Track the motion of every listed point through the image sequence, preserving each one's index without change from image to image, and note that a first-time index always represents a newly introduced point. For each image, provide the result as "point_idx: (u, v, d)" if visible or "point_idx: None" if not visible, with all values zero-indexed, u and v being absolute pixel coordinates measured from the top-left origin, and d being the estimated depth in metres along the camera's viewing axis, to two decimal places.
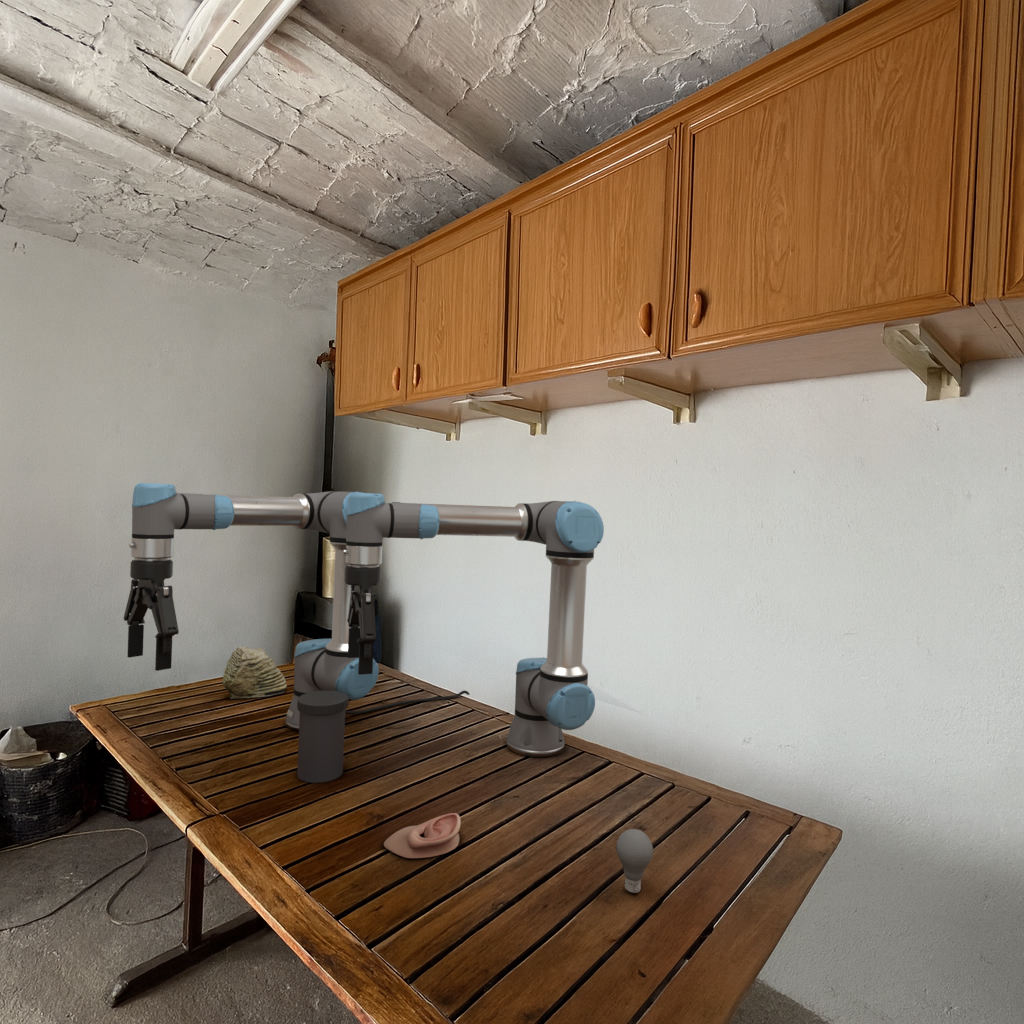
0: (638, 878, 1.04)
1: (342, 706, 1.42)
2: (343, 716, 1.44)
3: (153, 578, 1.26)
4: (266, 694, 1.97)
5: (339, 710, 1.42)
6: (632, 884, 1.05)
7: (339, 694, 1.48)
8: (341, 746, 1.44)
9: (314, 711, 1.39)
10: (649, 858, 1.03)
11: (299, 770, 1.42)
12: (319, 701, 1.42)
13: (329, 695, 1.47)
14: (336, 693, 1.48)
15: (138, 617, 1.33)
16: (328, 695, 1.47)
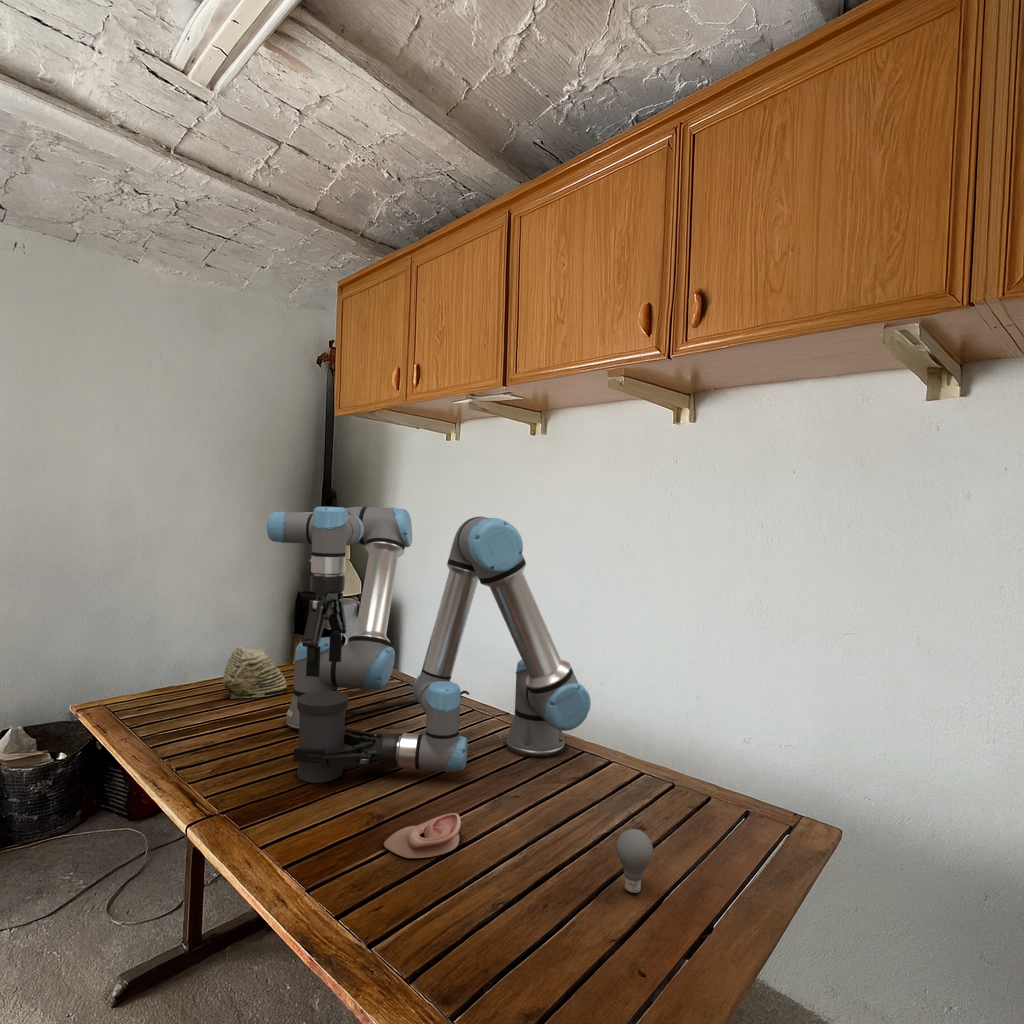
0: (638, 878, 1.04)
1: (342, 706, 1.42)
2: (343, 716, 1.44)
3: (316, 591, 1.41)
4: (266, 694, 1.97)
5: (339, 710, 1.42)
6: (632, 884, 1.05)
7: (339, 694, 1.48)
8: (341, 746, 1.44)
9: (314, 711, 1.39)
10: (649, 858, 1.03)
11: (299, 770, 1.42)
12: (319, 701, 1.42)
13: (329, 695, 1.47)
14: (336, 693, 1.48)
15: (335, 626, 1.50)
16: (328, 695, 1.47)
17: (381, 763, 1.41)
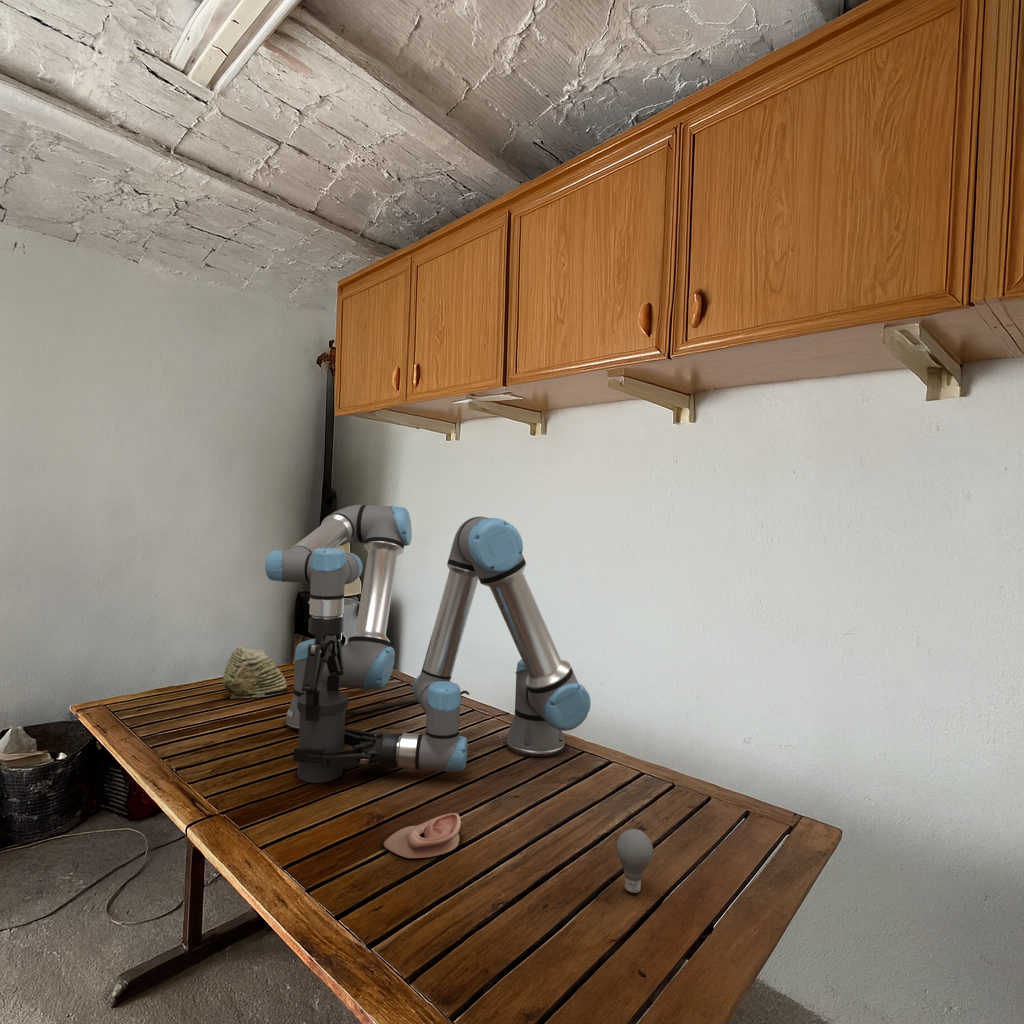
0: (638, 878, 1.04)
1: (342, 706, 1.42)
2: (343, 716, 1.44)
3: (314, 634, 1.41)
4: (266, 694, 1.97)
5: (339, 710, 1.42)
6: (632, 884, 1.05)
7: (339, 694, 1.48)
8: (341, 746, 1.44)
9: None
10: (649, 858, 1.03)
11: (299, 770, 1.42)
12: (319, 701, 1.42)
13: (329, 695, 1.47)
14: (336, 693, 1.48)
15: (333, 668, 1.50)
16: (328, 695, 1.47)
17: (381, 763, 1.41)
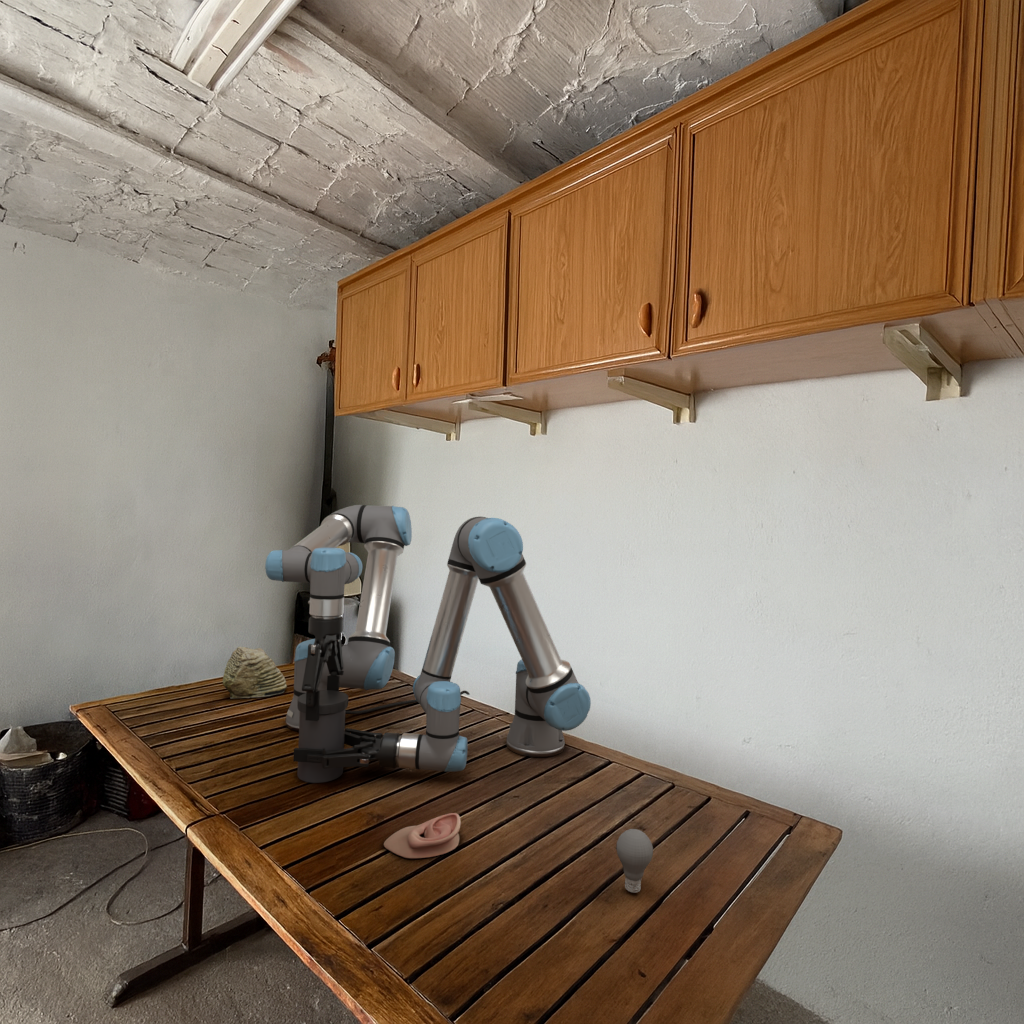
0: (638, 878, 1.04)
1: None
2: (343, 716, 1.44)
3: (314, 634, 1.41)
4: (266, 694, 1.97)
5: None
6: (632, 884, 1.05)
7: None
8: (341, 746, 1.44)
9: (345, 705, 1.43)
10: (649, 858, 1.03)
11: (299, 770, 1.42)
12: (333, 698, 1.44)
13: None
14: None
15: (333, 668, 1.50)
16: None
17: (381, 763, 1.41)
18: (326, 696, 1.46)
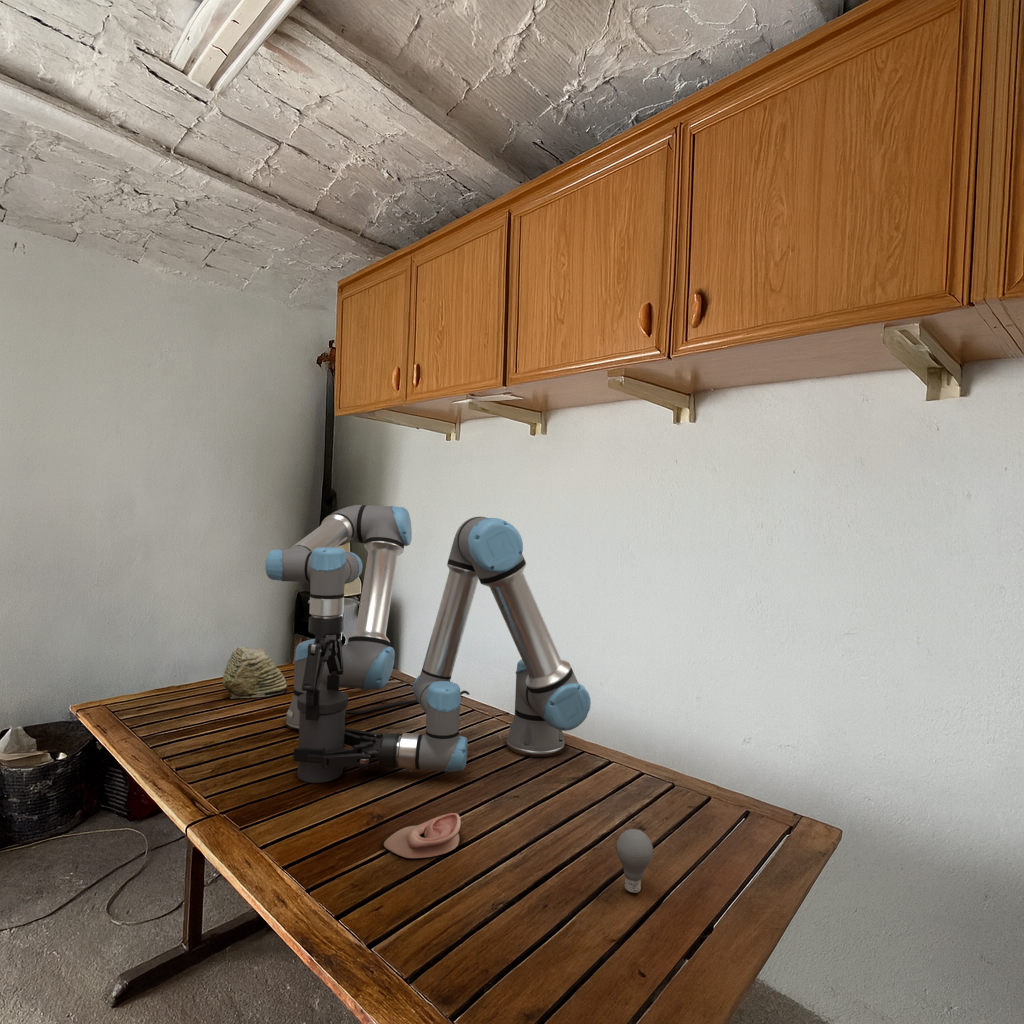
0: (638, 878, 1.04)
1: None
2: (343, 716, 1.44)
3: (314, 633, 1.41)
4: (266, 694, 1.97)
5: None
6: (632, 884, 1.05)
7: (303, 698, 1.43)
8: (341, 746, 1.44)
9: None
10: (649, 858, 1.03)
11: (299, 770, 1.42)
12: (330, 694, 1.47)
13: None
14: (305, 700, 1.42)
15: (333, 667, 1.50)
16: None
17: (381, 763, 1.41)
18: (321, 696, 1.45)
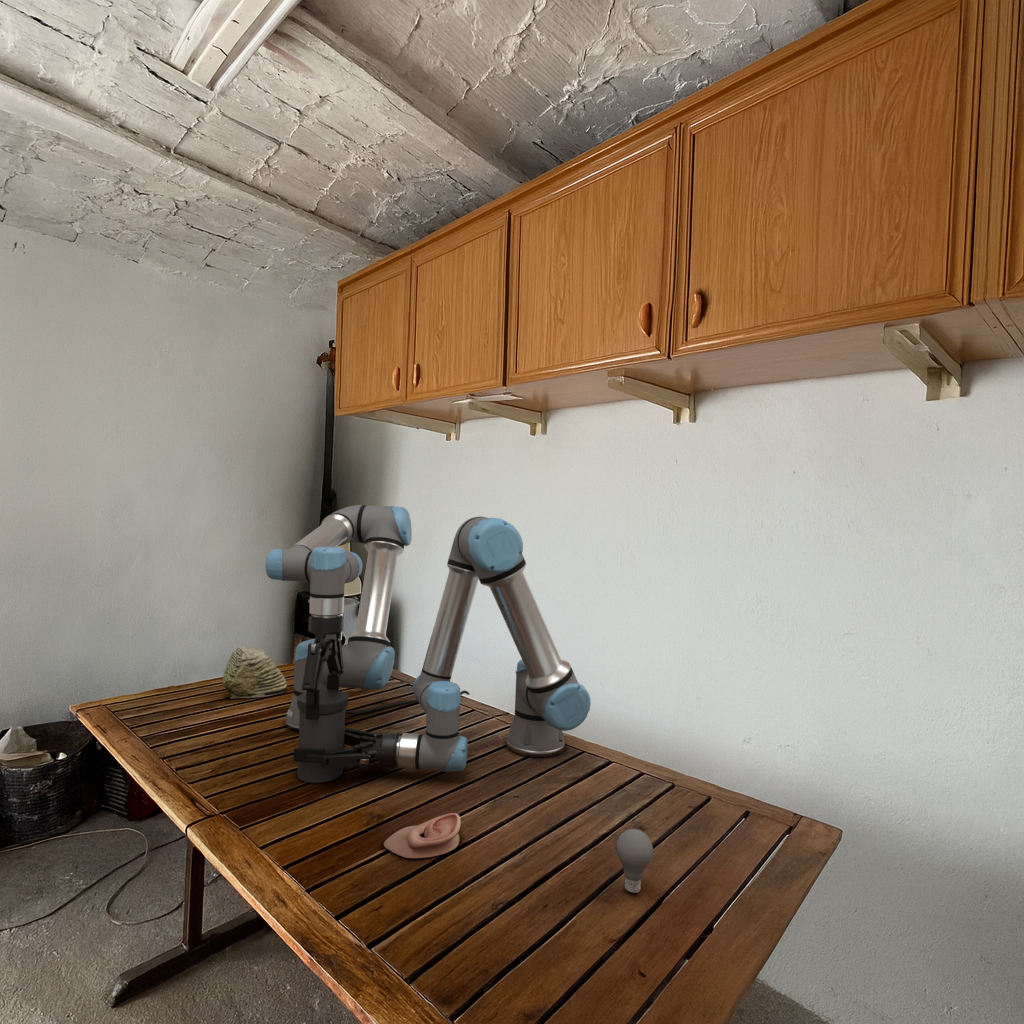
0: (638, 878, 1.04)
1: (298, 704, 1.42)
2: (343, 716, 1.44)
3: (314, 633, 1.41)
4: (266, 694, 1.97)
5: (297, 706, 1.42)
6: (632, 884, 1.05)
7: (323, 702, 1.41)
8: (341, 746, 1.44)
9: None
10: (649, 858, 1.03)
11: (299, 770, 1.42)
12: None
13: (326, 699, 1.43)
14: (327, 702, 1.41)
15: (333, 667, 1.50)
16: (326, 698, 1.43)
17: (381, 763, 1.41)
18: None
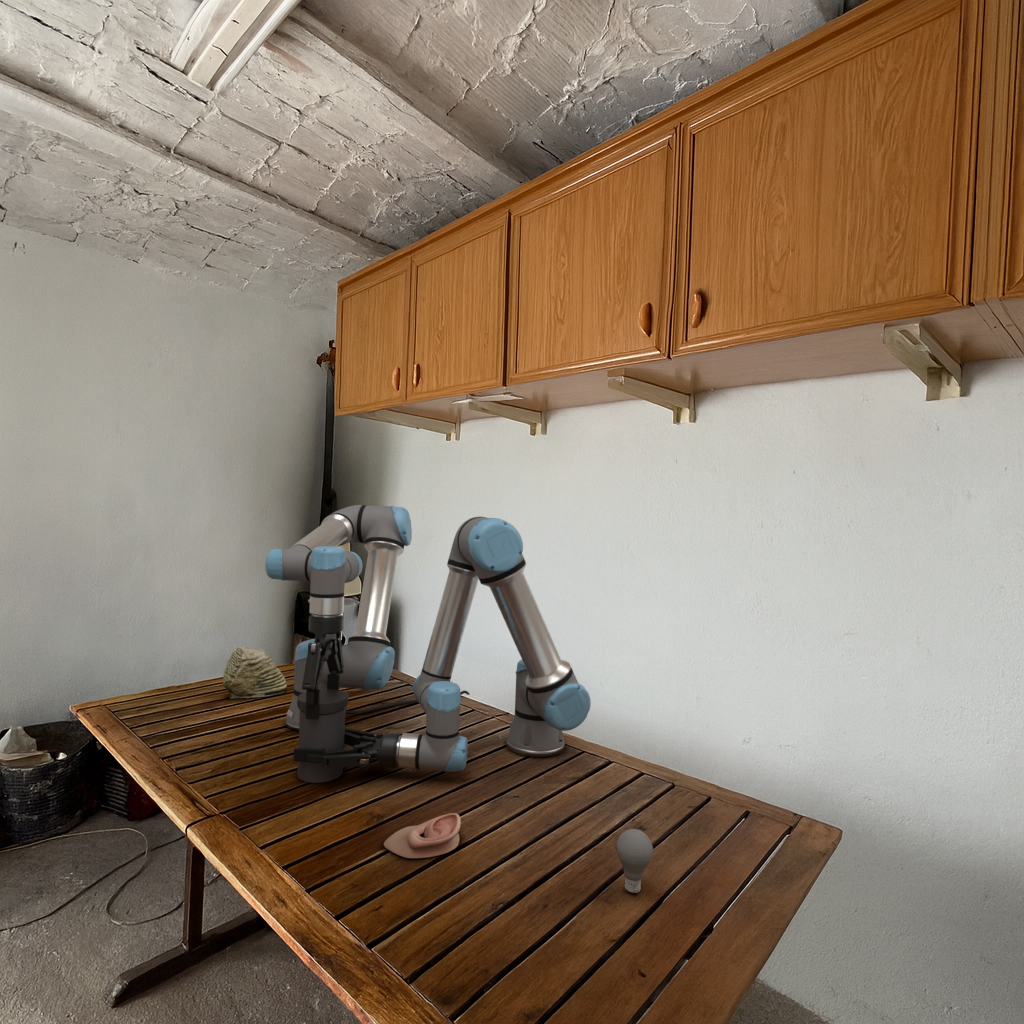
0: (638, 878, 1.04)
1: (326, 708, 1.40)
2: (343, 716, 1.44)
3: (314, 632, 1.41)
4: (266, 694, 1.97)
5: (322, 711, 1.39)
6: (632, 884, 1.05)
7: (342, 696, 1.45)
8: (341, 746, 1.44)
9: (300, 706, 1.41)
10: (649, 858, 1.03)
11: (299, 770, 1.42)
12: None
13: (332, 695, 1.46)
14: (342, 695, 1.46)
15: (333, 667, 1.50)
16: (332, 695, 1.46)
17: (381, 763, 1.41)
18: (324, 697, 1.44)
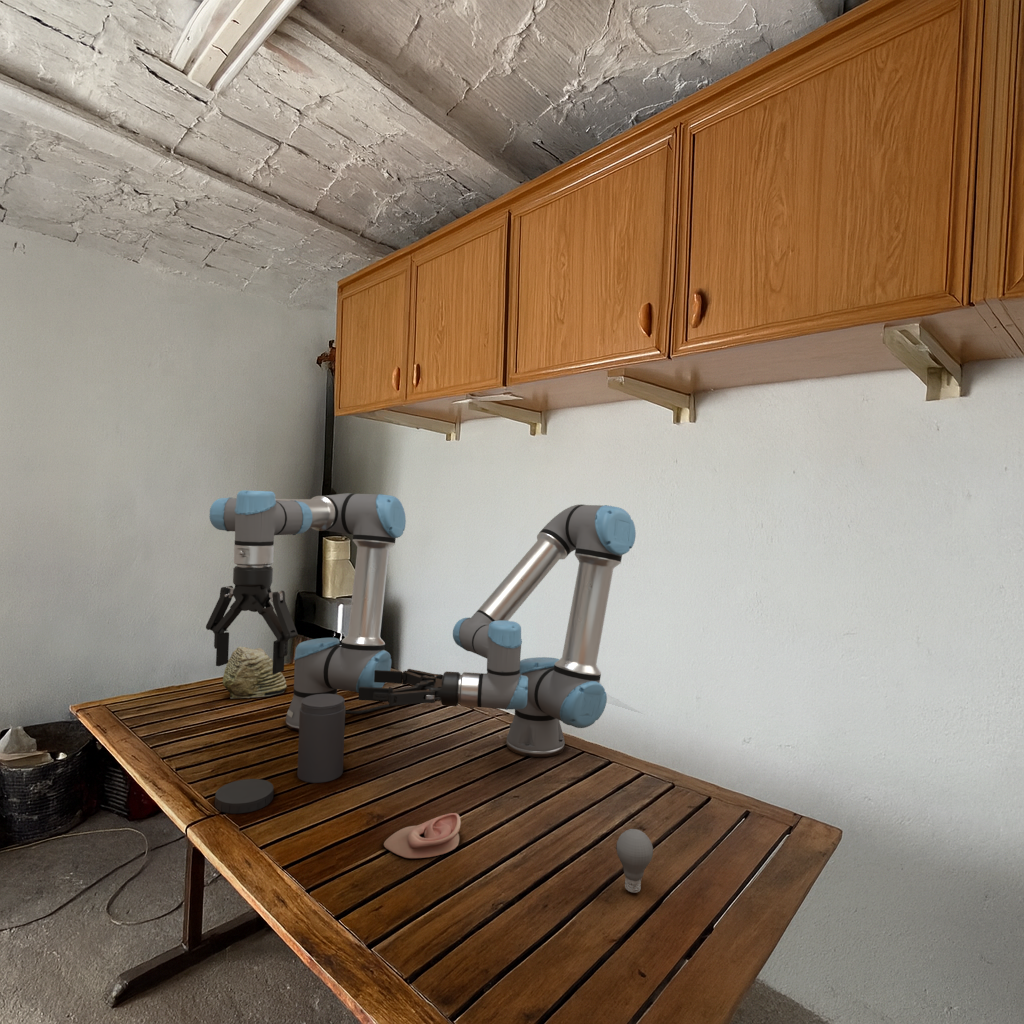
0: (638, 878, 1.04)
1: (272, 793, 1.32)
2: (343, 716, 1.44)
3: (264, 584, 1.28)
4: (266, 694, 1.97)
5: (272, 798, 1.31)
6: (632, 884, 1.05)
7: (254, 781, 1.35)
8: (341, 746, 1.44)
9: (250, 807, 1.26)
10: (649, 858, 1.03)
11: (299, 770, 1.42)
12: (248, 795, 1.29)
13: (246, 785, 1.33)
14: (250, 781, 1.35)
15: (227, 625, 1.32)
16: (245, 786, 1.33)
17: (443, 700, 1.41)
18: (249, 790, 1.31)
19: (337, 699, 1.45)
